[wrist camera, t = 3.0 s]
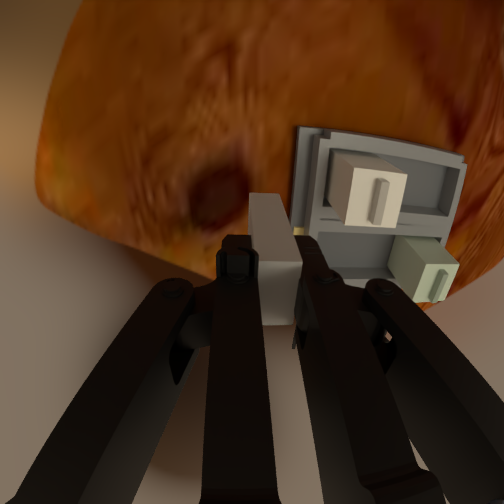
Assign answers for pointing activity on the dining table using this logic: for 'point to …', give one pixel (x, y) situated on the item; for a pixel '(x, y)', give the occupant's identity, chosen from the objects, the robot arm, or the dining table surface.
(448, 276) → the sage tab
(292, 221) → the switch bank
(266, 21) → the dining table surface
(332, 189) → the ivory tab
